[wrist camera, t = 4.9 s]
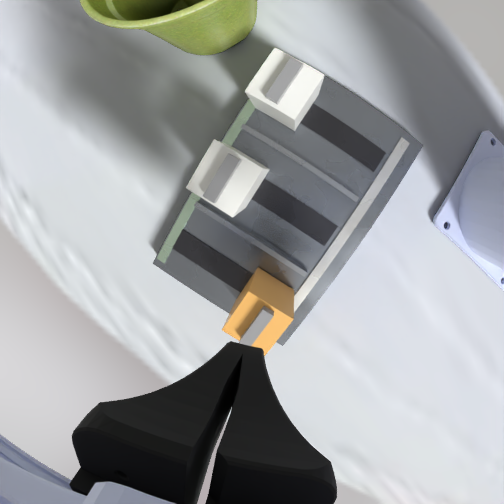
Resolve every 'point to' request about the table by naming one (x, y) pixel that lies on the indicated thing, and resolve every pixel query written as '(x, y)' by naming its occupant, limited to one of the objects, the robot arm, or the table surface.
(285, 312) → the breaker orange
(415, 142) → the panel
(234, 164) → the white breaker
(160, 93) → the table surface
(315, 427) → the table surface
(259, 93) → the white breaker
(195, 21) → the plant pot
